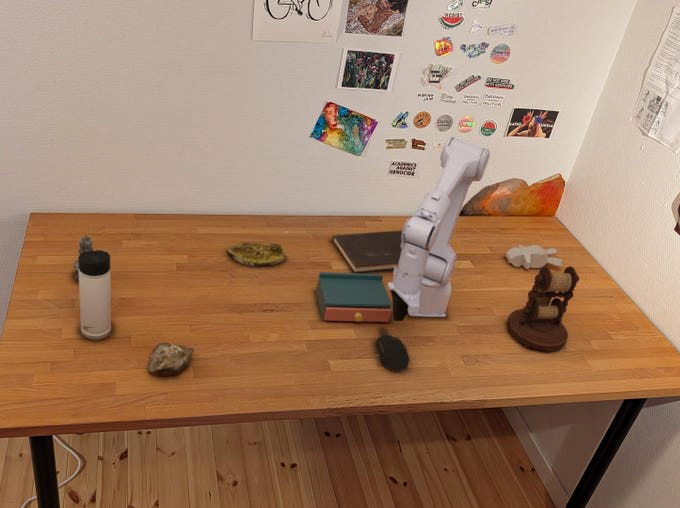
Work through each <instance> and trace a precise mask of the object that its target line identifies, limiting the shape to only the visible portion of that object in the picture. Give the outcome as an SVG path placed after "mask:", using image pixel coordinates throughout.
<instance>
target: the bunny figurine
mask: <svg viewBox="0 0 680 508" xmlns="http://www.w3.org/2000/svg"><path fill="white" fill-rule="evenodd" d="M557 252H558V251H557V249H556V248H554V247H551V248H547V249H544V248H543V247H542V246H541V245H538V244H531V245H528V246H524V245H523V244H518V245H517V246H513V247H511V248H510V249H508V250H505V258H506V259H507V262H508V264H512V266H513V267H517V268H519V267H521V266H522V267H524V269H526V270H529V269H530V268H532V269H539V268H540V269H541V268H542V267H544V266H546V264H547V263H548V264H551V265H554V266H557V267H562V266H563V265H564V264H563V263H564V260H563V259H562V258H559V257H553V256H552V255H556V254H557Z"/></svg>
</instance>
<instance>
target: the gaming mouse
mask: <svg viewBox="0 0 680 508" xmlns="http://www.w3.org/2000/svg"><path fill="white" fill-rule="evenodd" d="M381 332H382V335H381V336H379V337H377V340H376V342H375V344H376V349H377V353H378V357H379V361H380V364H382V366H383V367H384V368H386V369H388V370H391V371H394V372H403V371H405V370H406V369H408V368H409V363H410V358H409V354H408V349H407V347H406V346H405V344H404V343H403V341H402V340H401V339H399V338H398V337H395V336H393V335H392V334H386V333H385V330H384V329H381Z"/></svg>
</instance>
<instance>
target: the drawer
mask: <svg viewBox="0 0 680 508" xmlns="http://www.w3.org/2000/svg"><path fill="white" fill-rule="evenodd" d="M391 314H392V309H384V307H351V306H329V307H326V309H325V314H324V320H323V321H332V322H333V321H334V322H357V323H359V322H370V323H371V322H372V323H373V322H374V323H375V322H377V323H378V322H379V323H389V322H390V317H391Z"/></svg>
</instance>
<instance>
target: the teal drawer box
mask: <svg viewBox="0 0 680 508" xmlns="http://www.w3.org/2000/svg"><path fill="white" fill-rule="evenodd" d="M383 278H384V275H383V274H382V273H381V274H380V273H379V274H378V273H353V272H330V271H329V272H328V271H327V272H326V271H320V272H319V274H318V279H317V285H316V290H315V294H316V298H317V301H318V305H319V310H320V315H321V319H322V321H325V320H324V314H325V309H326V307H329V306H351V307H384V309H391V308H392V302H391V299H390V297H389V294H388V291H387V289H386V286H385V283H384V281H383V280H384V279H383ZM391 310H392V309H391Z"/></svg>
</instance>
